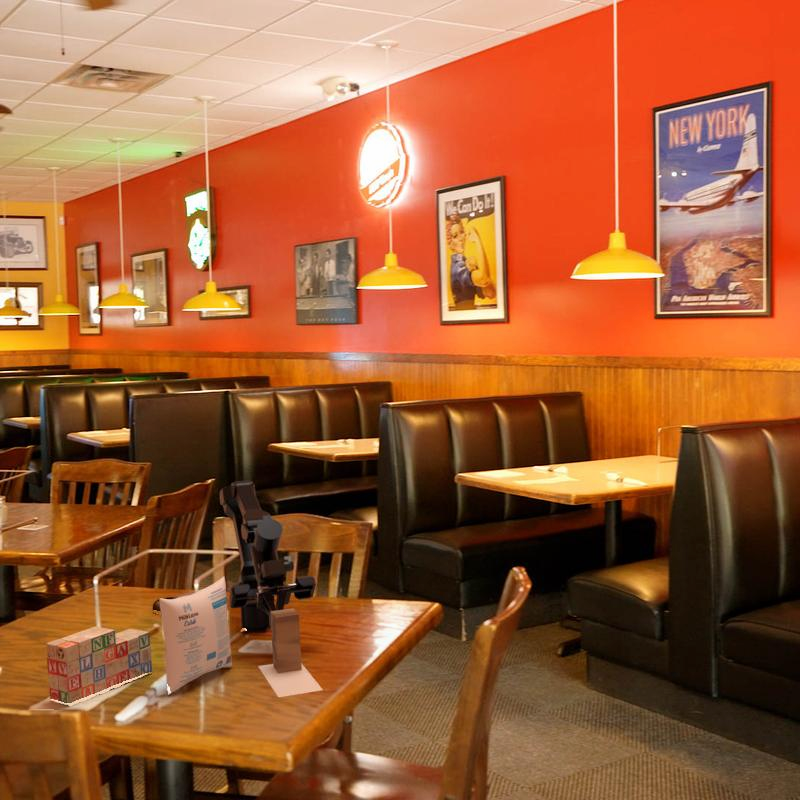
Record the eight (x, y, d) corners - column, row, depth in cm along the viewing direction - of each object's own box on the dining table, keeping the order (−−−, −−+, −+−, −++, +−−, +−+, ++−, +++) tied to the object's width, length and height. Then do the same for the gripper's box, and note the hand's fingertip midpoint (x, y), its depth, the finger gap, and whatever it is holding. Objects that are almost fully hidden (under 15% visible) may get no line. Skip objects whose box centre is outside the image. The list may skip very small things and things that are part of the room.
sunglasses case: (171, 618, 256) (162, 594, 257) (158, 627, 260) (149, 604, 262) (227, 602, 269) (218, 579, 271) (214, 611, 273) (205, 589, 275)
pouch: (246, 670, 214) (241, 578, 212) (177, 699, 198) (171, 600, 197) (219, 664, 218) (214, 574, 217) (151, 692, 203) (145, 595, 202)
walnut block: (273, 666, 215) (270, 611, 214) (296, 662, 216) (293, 608, 215) (278, 673, 210) (275, 617, 209) (301, 669, 211) (298, 614, 211)
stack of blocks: (133, 669, 218) (129, 614, 217) (153, 674, 214) (149, 618, 213) (49, 702, 200) (45, 642, 199) (69, 708, 197) (65, 646, 196)
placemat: (258, 667, 215) (258, 666, 215) (298, 661, 218) (298, 659, 218) (278, 699, 196) (278, 697, 196) (322, 691, 199) (322, 689, 199)
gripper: (228, 549, 218) (240, 611, 209) (311, 540, 225) (326, 600, 215) (224, 577, 226) (235, 638, 217) (304, 567, 233) (319, 626, 223)
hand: (279, 625), depth 218 cm, fingers closed
